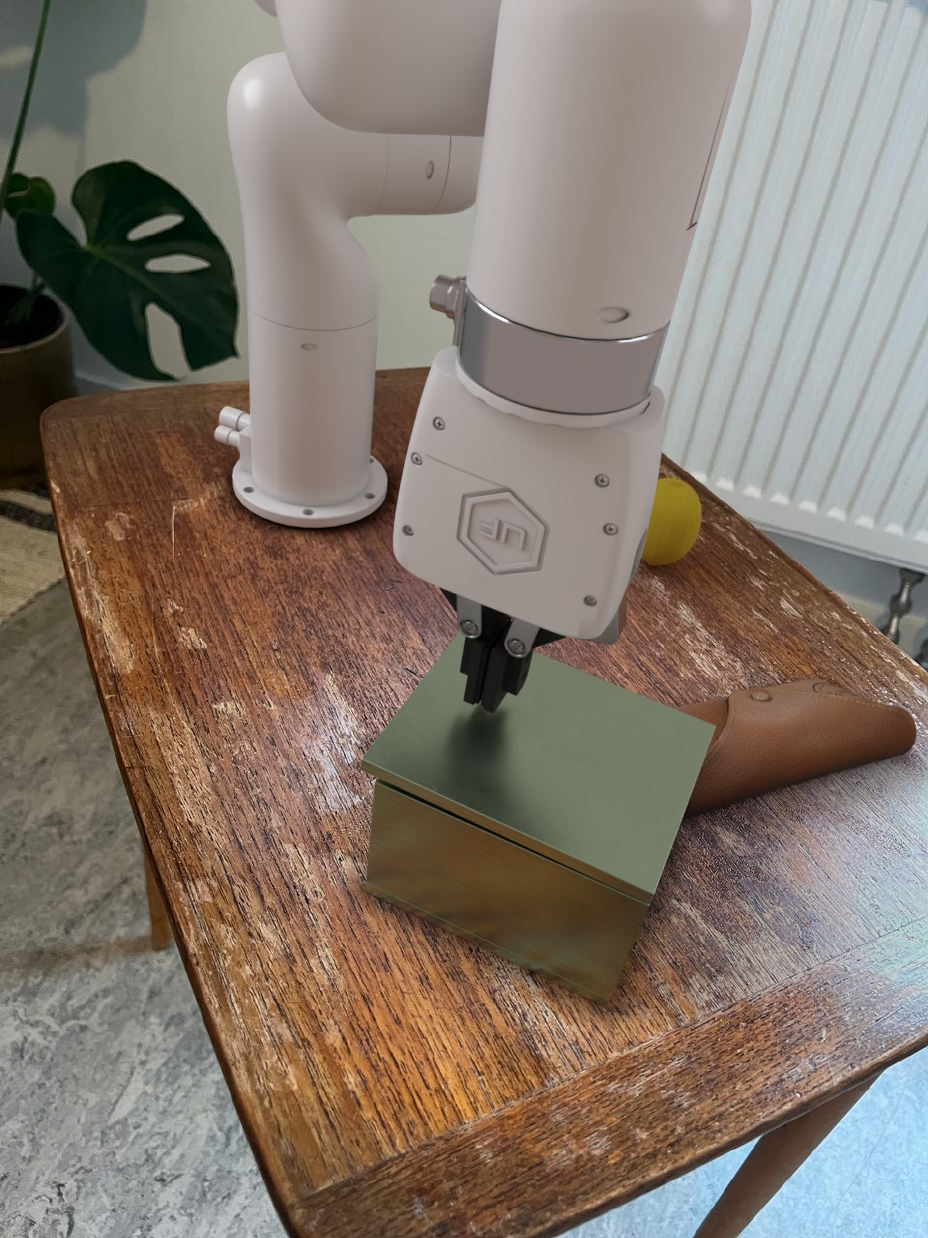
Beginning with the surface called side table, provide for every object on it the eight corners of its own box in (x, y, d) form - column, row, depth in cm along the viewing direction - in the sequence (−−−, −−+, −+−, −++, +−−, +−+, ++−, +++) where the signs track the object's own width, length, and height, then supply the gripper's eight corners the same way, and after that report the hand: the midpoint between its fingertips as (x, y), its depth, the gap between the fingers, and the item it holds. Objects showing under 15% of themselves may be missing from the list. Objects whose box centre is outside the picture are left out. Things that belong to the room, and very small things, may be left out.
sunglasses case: (824, 671, 68) (889, 641, 62) (862, 766, 67) (933, 745, 61) (607, 725, 62) (656, 697, 56) (643, 833, 60) (698, 816, 54)
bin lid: (359, 769, 45) (360, 758, 45) (463, 633, 54) (465, 622, 53) (649, 905, 42) (654, 894, 41) (712, 736, 50) (716, 725, 50)
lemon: (684, 591, 75) (713, 505, 70) (614, 576, 75) (638, 489, 70) (686, 552, 79) (713, 468, 74) (619, 538, 79) (642, 453, 74)
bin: (365, 891, 51) (374, 782, 45) (458, 750, 59) (476, 643, 54) (607, 1009, 47) (649, 905, 42) (669, 841, 56) (711, 736, 50)
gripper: (333, 319, 35) (320, 678, 47) (731, 450, 31) (607, 805, 43) (426, 260, 40) (393, 596, 52) (775, 366, 37) (654, 702, 49)
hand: (490, 690), depth 48 cm, fingers closed
